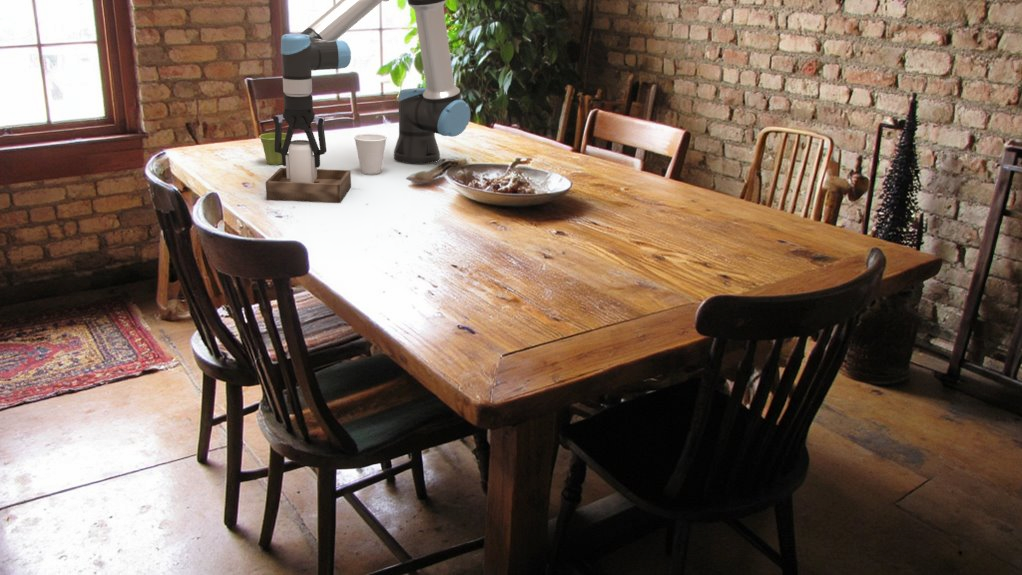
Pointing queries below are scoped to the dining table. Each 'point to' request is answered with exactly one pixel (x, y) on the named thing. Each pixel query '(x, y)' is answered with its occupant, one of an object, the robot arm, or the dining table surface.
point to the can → (300, 161)
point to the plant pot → (272, 148)
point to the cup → (370, 152)
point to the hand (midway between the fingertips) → (302, 177)
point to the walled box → (310, 187)
